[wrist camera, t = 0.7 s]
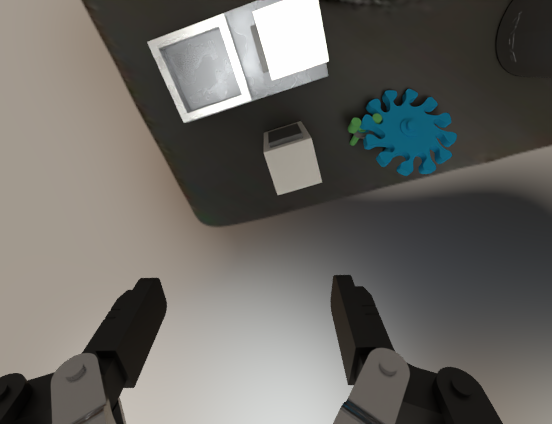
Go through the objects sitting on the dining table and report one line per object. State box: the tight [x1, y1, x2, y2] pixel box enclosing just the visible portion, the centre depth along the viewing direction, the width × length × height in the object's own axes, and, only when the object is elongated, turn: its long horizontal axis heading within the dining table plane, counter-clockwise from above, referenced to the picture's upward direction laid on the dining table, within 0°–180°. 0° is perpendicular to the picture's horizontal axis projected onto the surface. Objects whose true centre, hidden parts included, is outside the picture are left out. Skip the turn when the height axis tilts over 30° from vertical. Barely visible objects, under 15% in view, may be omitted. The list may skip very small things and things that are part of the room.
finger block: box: [264, 121, 322, 195], centre depth 29 cm, size 4×5×8 cm
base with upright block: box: [147, 0, 329, 123], centre depth 24 cm, size 16×8×9 cm, turn 107°
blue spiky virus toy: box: [348, 89, 457, 176], centre depth 30 cm, size 11×6×10 cm
